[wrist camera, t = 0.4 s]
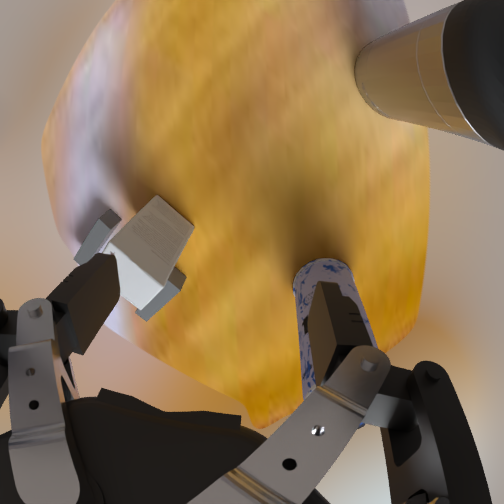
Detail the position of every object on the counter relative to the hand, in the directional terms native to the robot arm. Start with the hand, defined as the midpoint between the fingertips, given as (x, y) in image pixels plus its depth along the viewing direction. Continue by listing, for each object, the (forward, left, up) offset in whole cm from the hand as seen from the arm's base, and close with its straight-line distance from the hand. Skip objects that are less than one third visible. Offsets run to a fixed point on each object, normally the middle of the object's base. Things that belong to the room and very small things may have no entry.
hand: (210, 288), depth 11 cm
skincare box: (+12, -2, -22) cm, 25 cm away
